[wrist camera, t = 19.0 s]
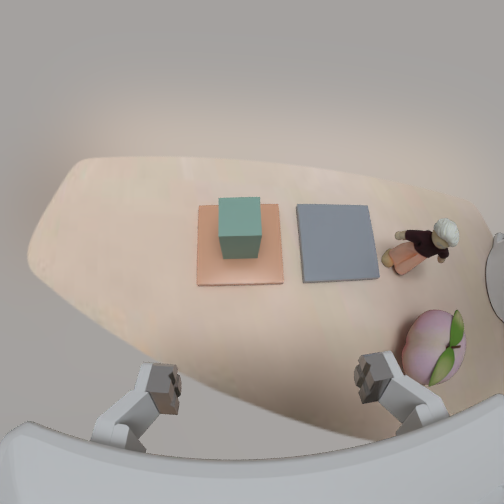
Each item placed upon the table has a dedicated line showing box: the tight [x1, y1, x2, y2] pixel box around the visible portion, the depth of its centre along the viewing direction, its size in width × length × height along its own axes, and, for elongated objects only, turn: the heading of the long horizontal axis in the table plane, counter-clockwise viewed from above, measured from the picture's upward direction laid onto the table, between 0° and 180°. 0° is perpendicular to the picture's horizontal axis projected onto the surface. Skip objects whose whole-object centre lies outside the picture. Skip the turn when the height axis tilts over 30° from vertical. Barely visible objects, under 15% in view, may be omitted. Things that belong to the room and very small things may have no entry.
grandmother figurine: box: [382, 218, 459, 275], centre depth 29 cm, size 8×4×13 cm, turn 77°
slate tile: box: [296, 204, 380, 283], centre depth 35 cm, size 10×10×1 cm
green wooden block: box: [218, 197, 262, 259], centre depth 30 cm, size 4×4×8 cm
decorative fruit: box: [402, 310, 466, 387], centre depth 27 cm, size 9×8×10 cm
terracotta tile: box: [197, 204, 284, 286], centre depth 34 cm, size 10×10×1 cm
